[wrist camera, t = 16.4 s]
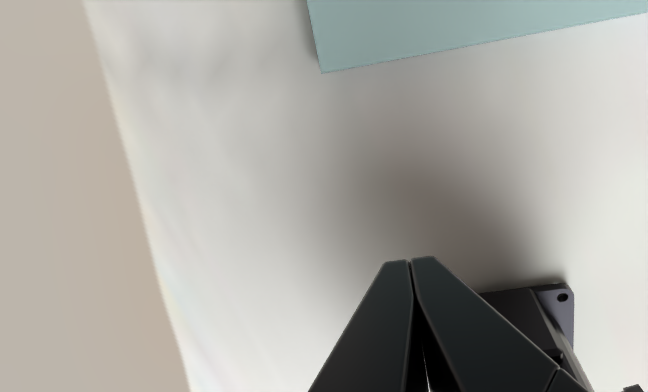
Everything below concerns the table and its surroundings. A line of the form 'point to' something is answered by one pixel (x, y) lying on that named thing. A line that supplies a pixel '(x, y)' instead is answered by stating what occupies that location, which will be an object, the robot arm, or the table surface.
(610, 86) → the table surface
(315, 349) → the table surface
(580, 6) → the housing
